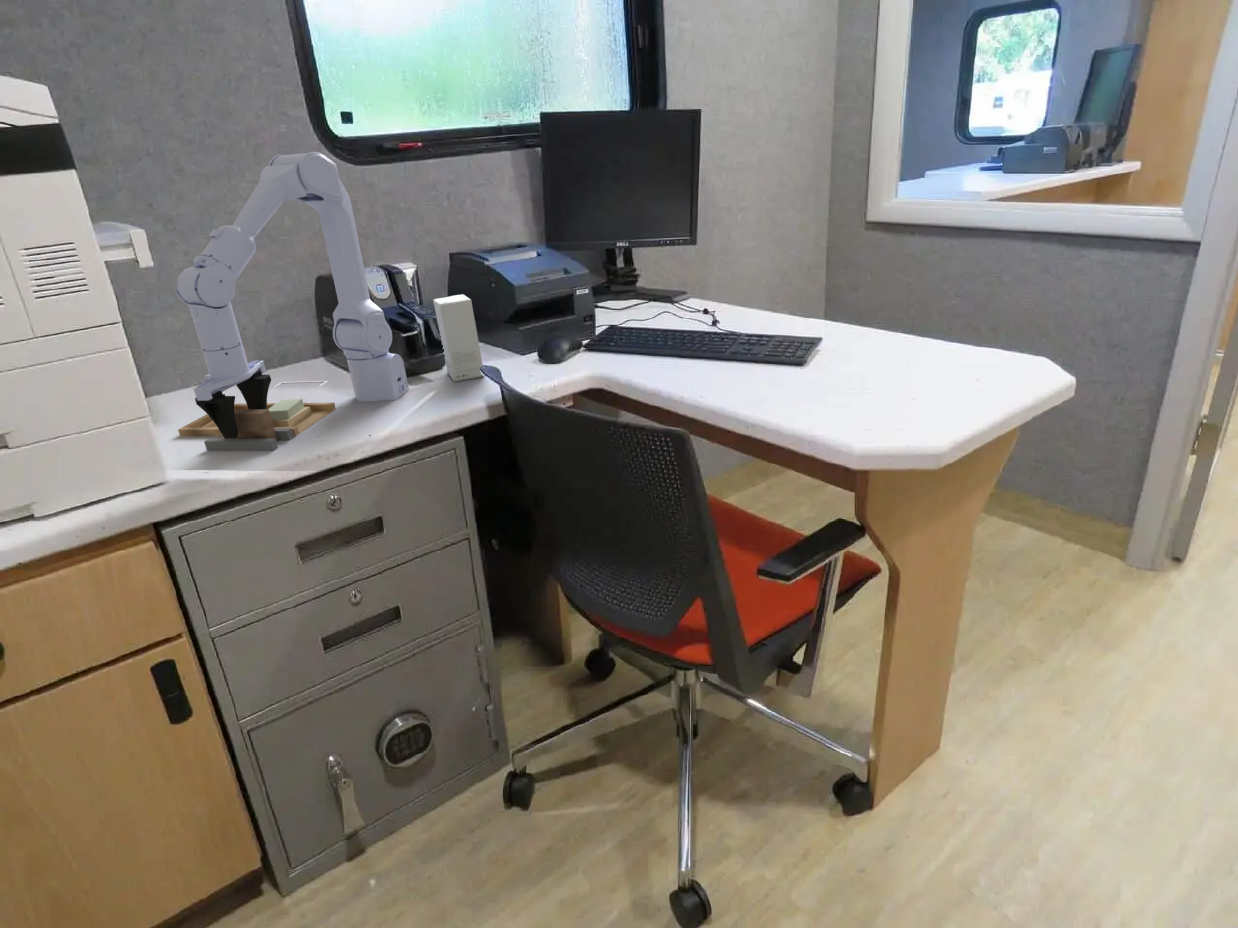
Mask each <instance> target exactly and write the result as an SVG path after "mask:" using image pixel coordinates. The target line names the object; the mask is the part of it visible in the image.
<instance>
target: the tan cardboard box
mask: <svg viewBox="0 0 1238 928" xmlns="http://www.w3.org/2000/svg"><path fill="white" fill-rule="evenodd" d="M234 413H235V420H236V424H237V429H238V437H236V438H224V437H223V439H266V438H275V439H276V443H277V444H278V442H279V440H277V437H276V433H275V430H274V426H273V422H272V419H271V415H270V412H269V409H246V410H234Z"/></svg>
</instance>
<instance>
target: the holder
mask: <svg viewBox="0 0 1238 928" xmlns="http://www.w3.org/2000/svg"><path fill="white" fill-rule="evenodd" d="M274 430H275V433H276V437H277V441H291V440H293V439H294V436H293V434H292V430H291V428H274ZM203 442H204V446H205V449H206V451H207V452H274V451H276V450H278V442H277V443H276V439H275V438H266V439H224V438H207V439H205V440H204V441H203Z"/></svg>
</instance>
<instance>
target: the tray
mask: <svg viewBox="0 0 1238 928" xmlns="http://www.w3.org/2000/svg"><path fill="white" fill-rule="evenodd" d="M276 403H277V402H273V403H272V402H271V403H268V402H267V409H269V408H270V407H272V406H273V405H274V404H276ZM303 404H304V407H310V409H311V413H312V415H311V416H309V417H308V418H306V419H305V420H303V421H302V422H300V423H299V424H297V425H295V426H294V427H274V428H291V430H292V434H293V437H297V436H298V435H300V434H301V433H302V432H304V431H305V430H307V429H308V428H310V427H312V426H313V425H314V424H316V423H317V422H319V421H321V420H322V419H323V418H325V417H326V416H328V415H329V414H331V413H332V412H334V411H335V410H336V409H337V408H336V404H335V402H303ZM246 409H248V406H247V403H234V410H246ZM177 432H178V434H179V437H223V435H222V433H221V432H220V430H219V429H218V427H217V426H216V424H215V423H214V421H213V420H212V419H211V418H210V416H209V415H208V414H207V413H206V414H205V415H203V416H202V417H199V418H197V419H196V420H194V421H191V422H190V423H187V424H186V425H184V426H182V427H180V428H178V430H177Z"/></svg>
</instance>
